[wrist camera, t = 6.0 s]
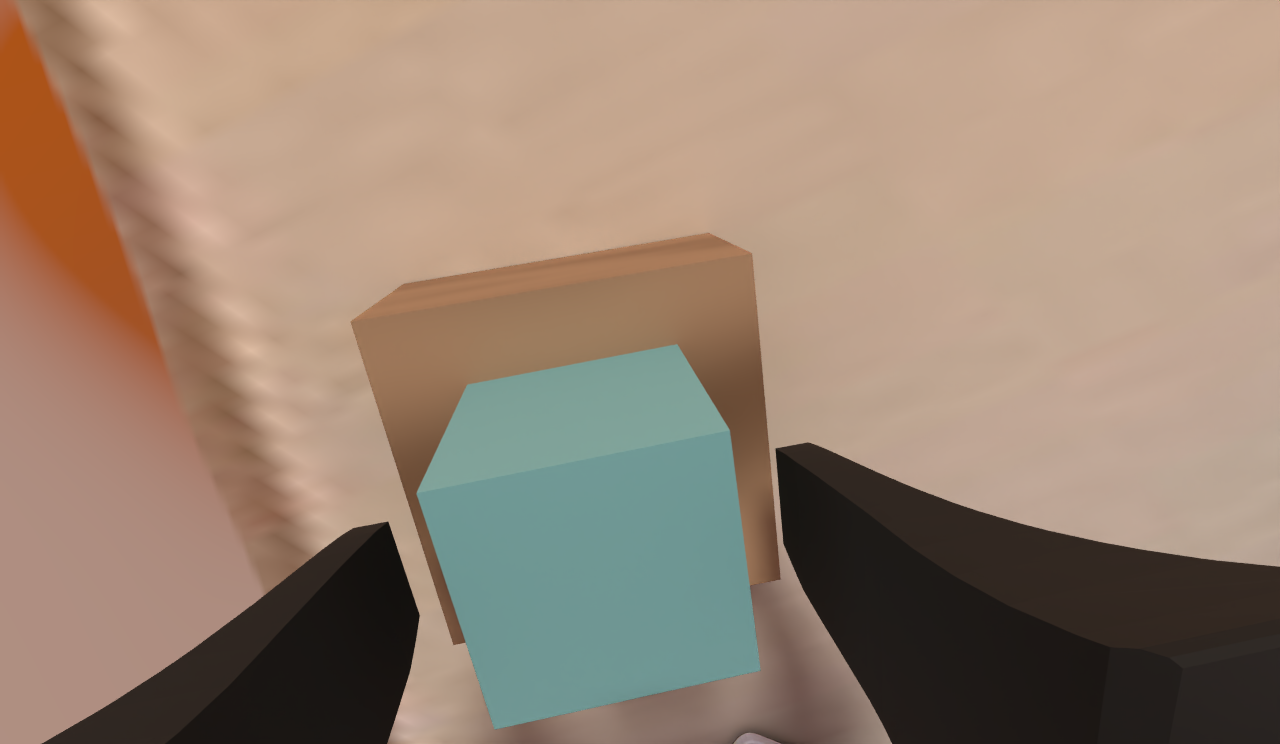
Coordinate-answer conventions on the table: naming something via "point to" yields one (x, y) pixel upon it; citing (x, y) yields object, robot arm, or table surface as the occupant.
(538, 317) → the walnut block
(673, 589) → the teal cube
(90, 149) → the table surface
